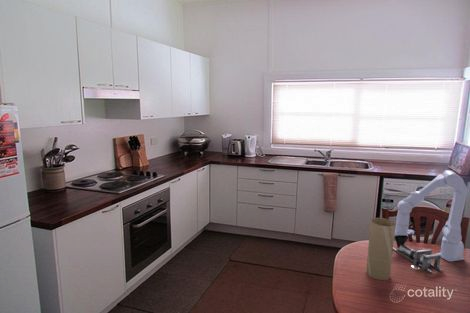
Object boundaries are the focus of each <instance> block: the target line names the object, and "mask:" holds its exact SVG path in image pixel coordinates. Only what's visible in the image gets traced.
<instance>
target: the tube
mask: <svg viewBox="0 0 470 313" xmlns="http://www.w3.org/2000/svg"><path fill="white" fill-rule="evenodd" d="M369 228H370V229H369V237H368V246H367V247H368V249H367V258H366V259H367V260H366V270H365V272H366V274H367V275H368V276H369V277H371V278H372V279H376V280H379V281H387V280H389V279H390V278H391V273H392V272H391V270H392V264H393V262H392V261H393V253H394V252H393V251H394V250H393V247H394V245H395V244H394V243H395V237H394V236H395V229H396V222H395V221H393V220H392V219H389V218H384V217H373V218H371V219H370V226H369Z"/></svg>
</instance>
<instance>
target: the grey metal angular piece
mask: <svg viewBox="0 0 470 313" xmlns="http://www.w3.org/2000/svg"><path fill="white" fill-rule="evenodd" d="M393 251H394V252H396V253H397V254H398V255H401V256H402V257H403V258H406V259H407V260H409V261H410V262H412V263H413V265H410V268H411V269H413V270H420V268H421V270H422V271H426V272H427V273H429V274H431V275H432V274H433V271H432V270H431V269H430V268H428V260H432V261H433V260H434V262H433V263H432V264H431V265H430V266H429V267H432V268H434V269H435V270H437V271H438V272H440V273H441V272H444V270H443V269H442V268H440V264H441V259H442V258H441V255H440V254H436V253H433V254H432V251H433V250H432V249H430V248H427V249H418V250H415V254H414V259H413V258H411V257H410V256H408V255H406V254H405V253H403V252H401V251H400V250H399V249H398V248H396V247H394V246H393ZM420 255H424V256H423V263H420V262H419V256H420Z"/></svg>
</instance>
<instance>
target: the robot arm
mask: <svg viewBox="0 0 470 313" xmlns="http://www.w3.org/2000/svg"><path fill="white" fill-rule="evenodd" d="M448 186H449V187H450V188H451V189H452V190H454V192H453V196H452V200H451V205H450V209H449V215H448V219H447V220H446V222H445V225H443V227H442V229H441V231H442V234H443V237H442V239H441V246H440V252H436V253H435V254H440V255H441V258H440V259H443V260H446V261H447V262H448V263H449V262H455V261H457V262H458V261H463V260H465V258H464V257H463V256H464V249H465V246H464V243H463V241H462V238H463V236H462V227H461V223H462V220H463V219H462V218H463V214H464V211H465V210H464V209H465V204H466V200H467V196H468V190H469V189H468V187H467V185H466V183H465V181H464V178H462V177H461V176H460V175H458V174H457V173H456V172H455V171H453V170H451V169H445V170H444V171H442V172H441V173H439V174H438V175H436V177H435V178H433V179H432V180H431V181H430V182H429V183H428V184H426V185H425V186H424V187H423V188H421V190H417V191H416V190H415V191H412V192H410V195H408V196H407V197H405V198H404V197H403V199H402V200H400V201H398V203H397V204H396V206H397V208H398V209H397V214H396V222H395V223H396V226H395V236H394V240H395V242H396V246H397V249H399V247H400V245H402V244H404V245H405V243H406V242H407V241H408V240H409V236H408V235H414V234H415V230H413V229H409V224H410V213H412V210H413V209H414V208H415V207H417V206H418V205H420V204H421V203H422V202H423V201H425V197H426V196H428V195H429V194H430V193H432V192H433V191H435V190H437V189H438V188H446V187H447V188H448Z"/></svg>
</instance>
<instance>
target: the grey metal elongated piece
mask: <svg viewBox="0 0 470 313" xmlns="http://www.w3.org/2000/svg"><path fill="white" fill-rule="evenodd" d="M398 250H399V251H400V252H402V253H403V254H405V255H407V256H408V257H410V258H411V259H413V260H414V254H415V251H416V250H415V249H413V248H411V247H409V245H408V246H407V245H406V244H405V243H404V244H402V245H400V247H399V248H398ZM423 256H425V254H422V255H420V256H419V263H420V264H422V263H423ZM431 264H433V259H432V260H428V267H431V266H430V265H431ZM428 267H427V268H428Z"/></svg>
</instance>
